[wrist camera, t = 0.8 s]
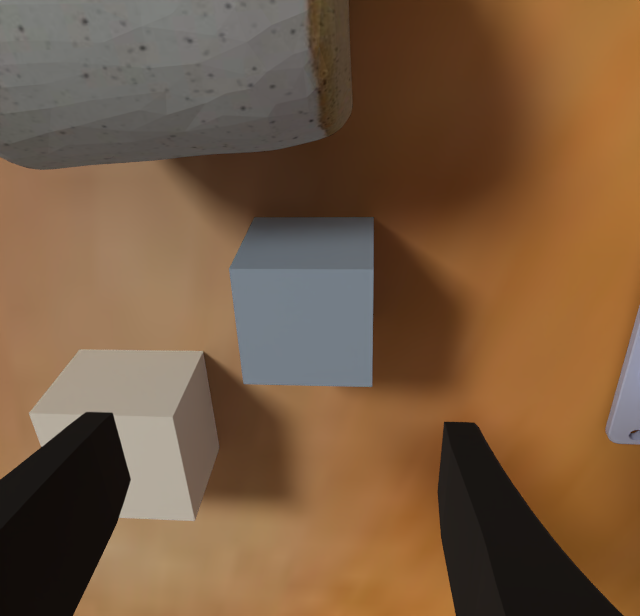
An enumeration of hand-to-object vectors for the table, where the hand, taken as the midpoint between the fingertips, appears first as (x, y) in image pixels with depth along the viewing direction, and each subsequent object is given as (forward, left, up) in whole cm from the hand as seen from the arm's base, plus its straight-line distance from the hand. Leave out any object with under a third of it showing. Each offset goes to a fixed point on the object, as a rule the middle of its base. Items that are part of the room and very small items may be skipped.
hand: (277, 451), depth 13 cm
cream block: (+7, +6, -9) cm, 13 cm away
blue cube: (0, 0, -9) cm, 9 cm away
